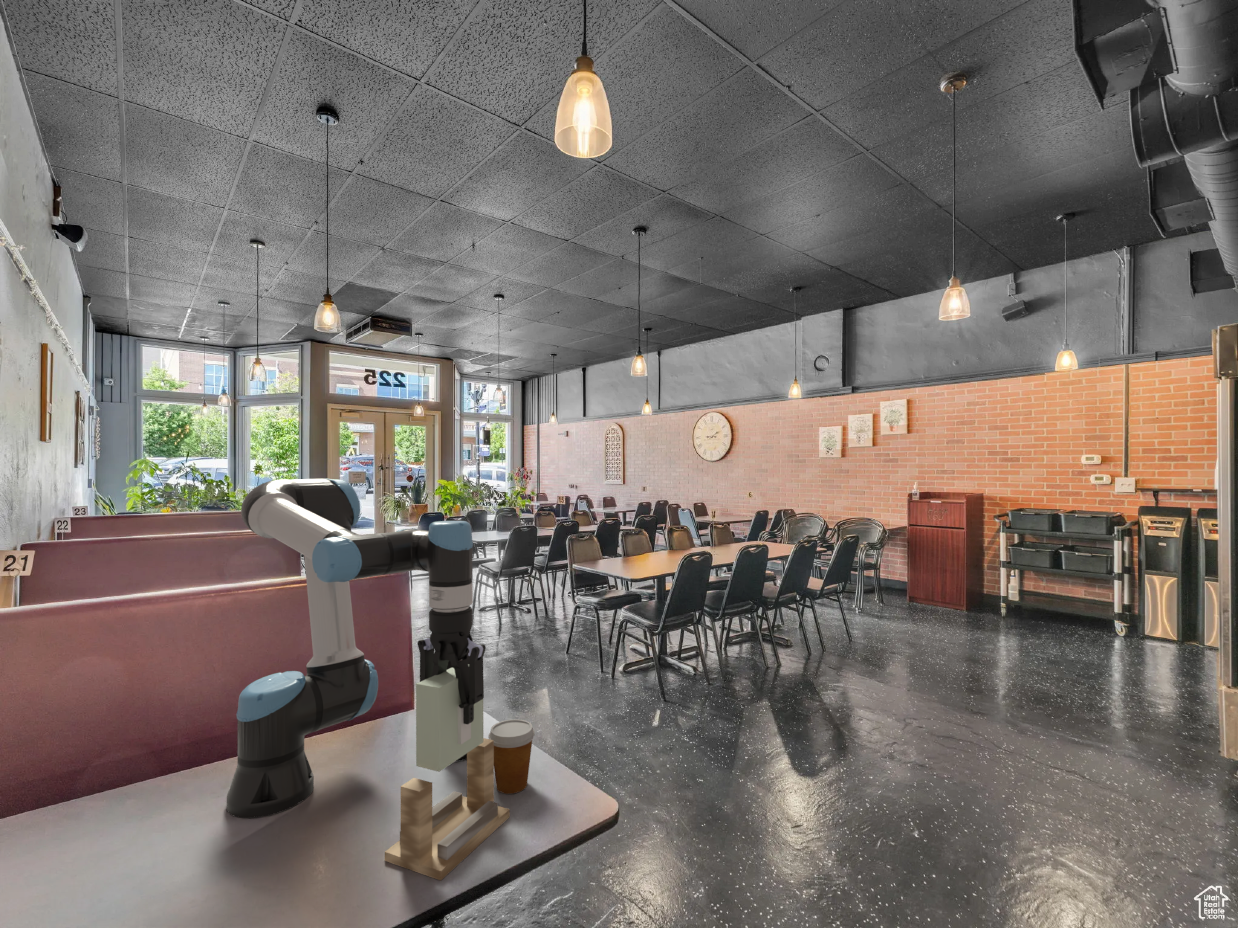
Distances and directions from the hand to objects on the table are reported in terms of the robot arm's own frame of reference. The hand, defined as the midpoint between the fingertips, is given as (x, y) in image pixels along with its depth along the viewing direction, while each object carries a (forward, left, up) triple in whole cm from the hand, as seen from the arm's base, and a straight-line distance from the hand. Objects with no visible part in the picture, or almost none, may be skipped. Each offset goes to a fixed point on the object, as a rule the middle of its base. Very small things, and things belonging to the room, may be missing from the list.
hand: (451, 737), depth 105 cm
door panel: (0, 0, -3) cm, 3 cm away
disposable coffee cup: (0, +19, -18) cm, 26 cm away
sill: (0, 0, -18) cm, 18 cm away
